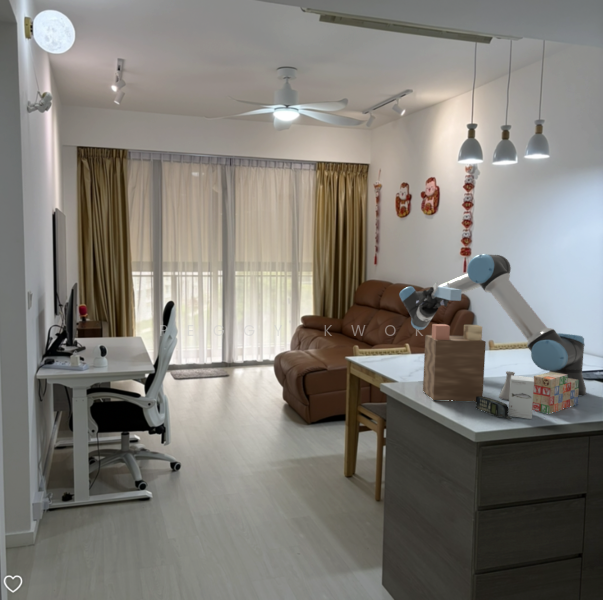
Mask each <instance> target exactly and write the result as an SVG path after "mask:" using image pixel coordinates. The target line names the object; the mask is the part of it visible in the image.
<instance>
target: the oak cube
mask: <svg viewBox="0 0 603 600" xmlns="http://www.w3.org/2000/svg"><path fill="white" fill-rule="evenodd" d="M462 336H463V338H464V339H466V340H482V338H483V337H482V336H483V326H482V325H478V324H464V325H463V335H462Z"/></svg>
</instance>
